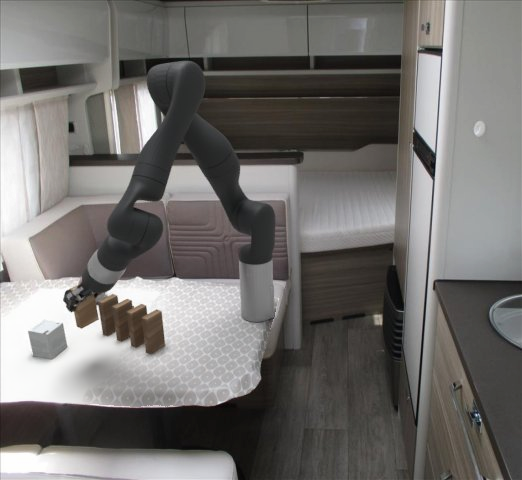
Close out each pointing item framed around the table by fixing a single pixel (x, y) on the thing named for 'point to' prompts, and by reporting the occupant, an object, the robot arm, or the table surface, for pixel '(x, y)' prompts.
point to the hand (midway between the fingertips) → (79, 303)
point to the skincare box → (47, 339)
